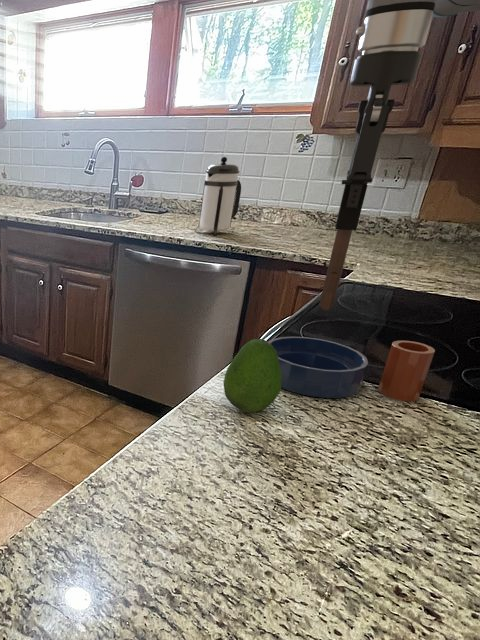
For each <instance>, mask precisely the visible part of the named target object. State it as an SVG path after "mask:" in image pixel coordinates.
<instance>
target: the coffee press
mask: <svg viewBox="0 0 480 640" xmlns="http://www.w3.org/2000/svg"><path fill="white" fill-rule="evenodd" d="M220 161H221V163H212V164H210V165H209V166H207V169H206V170H205V180H204V183H203V189H202V198H201V206H200V212H199V220H198V225H197V227H196V228H195V229H194V232H195V233H196V234H197V233H200V232H201V231H205V232H212V236H213V237H217V234H218V232H228V231H229V229H230V230H231V232H229V234H230V235H232V234H233V232H234V231H233V229H232V220H233V218H235V217H236V215H237V214H238V210H239V207H240V206H239V205H240V200H241V193H242V182H241V181H240V180H239V179H238V178H239V174H240V169H239V167H238V166H237V165H236V164H234V163H227V161H228V158H227V156H223V157H221V159H220ZM198 228H199V230H197V229H198ZM196 230H197V231H196Z"/></svg>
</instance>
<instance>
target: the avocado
mask: <svg viewBox="0 0 480 640" xmlns="http://www.w3.org/2000/svg"><path fill="white" fill-rule="evenodd" d="M281 379H282V375H281V369H280V364H279V359H278V355H277V352H276V350H275V349H274V347H273V346H272V345H271V344H270V343H269V341H267V340H266V339H263V338H252V339H251V340H249V341H247V342H246V343H245V344H244V345H243V346H241V348H240V349H239V350H238V352H237V354H236V355H235V356H234V358H233V359H232V360H231V362H230V363H229V365H228V366H227V369H226V371H225V374H224V378H223V391H224V392H223V393H224V395H225V398H226V399H227V401H228V402H229V403H230V404H231V405H232V406H233V407H234V408H236V409H237V410H239V411H240V412H245V413H256V412H261V411H264V410H265V409H267V408H268V407H269V406H270V405H272V404H273V403H274V402H275V401H276V399H277V397H278V396H279V394H280V393H281V391H282V388H281Z"/></svg>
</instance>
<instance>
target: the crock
mask: <svg viewBox="0 0 480 640" xmlns="http://www.w3.org/2000/svg"><path fill="white" fill-rule="evenodd" d="M435 352H436V349H435V348H434V347H433V346H430V345H427V344H425V343H422V342H417V341H411V340H394V341H392V343H391V346H390V348H389V352H388V355H387V359H386V362H385V364H384V368H383V370H382V371H383V372H382V375H381V378H380V381H379V384H378V387H377V391H378V392H379V394H381V395H383V396H384V397H386V398H389V399H392V400H395V401H400V402H417V401H419V399H420V395H421V393H422V389H423V387H424V384H425V381H426V378H427V376H428V372H429V370H430V367H431V364H432V361H433V358H434V355H435Z"/></svg>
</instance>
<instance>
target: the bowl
mask: <svg viewBox="0 0 480 640" xmlns="http://www.w3.org/2000/svg"><path fill="white" fill-rule="evenodd" d="M268 342H269V343H270V344H271V345H272V346H273V347H274V349H275V350H276V352H277V355H278V359H279V364H280V369H281V375H282V379H281V389H283V390H285V391H289V392H292V393H296V394H299V395H302V396H309V397H315V398H325V399H327V398H328V399H340V398H349V397H351V396H354V395H357V394H358V393H359V392H360V390H361V389H362V386H363V383H364V380H365V376H366V372H367V370H368V366H369V361H368V358H367V356H365V355H364V354H363V353H362V352H360V351H358V350H356V349H355V348H352V347H351V346H347V345H344V344H342V343H338V342H335V341H332V340H326V339H322V338H317V337H316V338H315V337H309V336H308V337H307V336H283V337H282V336H281V337H276V338H272V339H270V340H269V341H268Z"/></svg>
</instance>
